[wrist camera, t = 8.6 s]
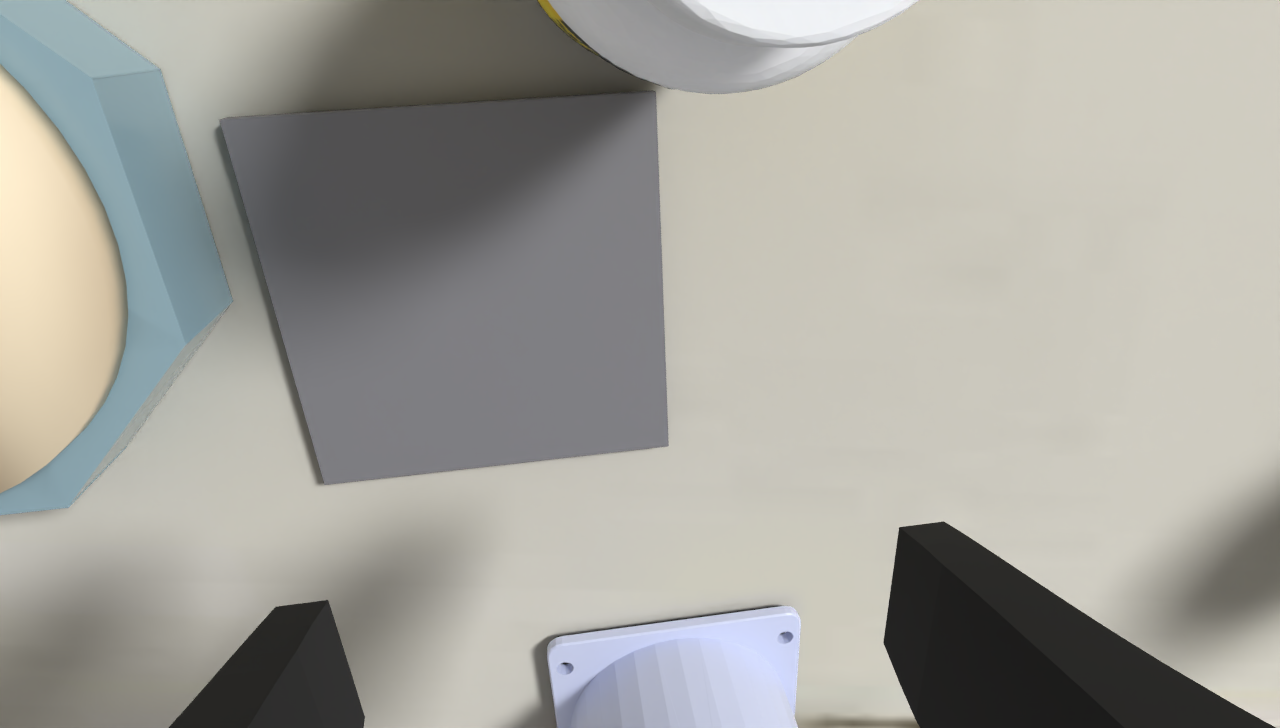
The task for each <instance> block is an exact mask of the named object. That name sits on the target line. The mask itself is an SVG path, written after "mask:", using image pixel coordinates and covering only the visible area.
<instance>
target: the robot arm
mask: <svg viewBox="0 0 1280 728" xmlns="http://www.w3.org/2000/svg"><path fill="white" fill-rule="evenodd" d="M800 628H801V621H800V617H799V615H798V613H797V611H796V610H795V609H794V608H793V607H790V606H779V607H772V608H765V609H757V610H750V611H743V612H735V613H728V614H721V615H713V616H706V617H699V618H691V619H684V620H677V621H669V622H662V623H655V624H647V625H640V626H633V627H625V628H618V629H611V630H603V631H596V632H589V633H581V634H574V635H567V636H561V637H557V638H555V639H553V640H552V641H550V643H549V644H548V646H547V661H548V668H549V674H550V681H551V688H552V695H553V702H554V709H555V716H556V723H557V728H798V725H797V723H796V720H795V702H796V687H797V673H798V658H799V643H800ZM785 631H787V632H786V633H784V634H781V633H783V632H785ZM884 645H885V648H886V650H887V653H888V655H889V657H890V660H891V662H892V665H893V667H894V670H895V672H896V675H897V677H898V680H899V682H900V685H901V687H902V689H903V692H904V694H905V696H906V698H907V701H908V703H909V705H910V708H911V710H912V712H913V714H914V717H915V719H916V721H917V723H918V725H919V726H920V728H1275V727H1273V726H1272V725H1270V724H1268V723H1266V722H1264V721H1263V720H1261V719H1259V718H1257V717H1255V716H1254V715H1252V714H1250V713H1248V712H1246V711H1245V710H1243V709H1241V708H1239V707H1237V706H1236V705H1234V704H1232V703H1230V702H1229V701H1227V700H1225V699H1223V698H1222V697H1220V696H1218V695H1217V694H1215V693H1213V692H1212V691H1210V690H1208V689H1207V688H1205V687H1203V686H1201V685H1200V684H1198V683H1196V682H1195V681H1193V680H1191V679H1190V678H1188V677H1186V676H1184V675H1183V674H1181V673H1179V672H1178V671H1176V670H1174V669H1173V668H1171V667H1169V666H1167V665H1166V664H1164V663H1162V662H1161V661H1159V660H1157V659H1156V658H1154V657H1153V656H1151V655H1149V654H1148V653H1146V652H1144V651H1143V650H1141V649H1140V648H1138V647H1136V646H1135V645H1133V644H1132V643H1130V642H1128V641H1127V640H1125V639H1123V638H1122V637H1120V636H1119V635H1117V634H1116V633H1114V632H1112V631H1111V630H1109V629H1108V628H1106V627H1105V626H1103V625H1101V624H1100V623H1098V622H1097V621H1095V620H1094V619H1092V618H1091V617H1089V616H1087V615H1086V614H1084V613H1083V612H1081V611H1080V610H1078V609H1077V608H1075V607H1074V606H1072V605H1070V604H1069V603H1067V602H1066V601H1064V600H1063V599H1061V598H1060V597H1058V596H1057V595H1055V594H1054V593H1052V592H1051V591H1049V590H1048V589H1046V588H1045V587H1043V586H1042V585H1040V584H1039V583H1037V582H1036V581H1034V580H1033V579H1031V578H1030V577H1028V576H1027V575H1025V574H1024V573H1022V572H1021V571H1019V570H1018V569H1016V568H1015V567H1013V566H1012V565H1010V564H1009V563H1007V562H1006V561H1004V560H1003V559H1001V558H1000V557H998V556H997V555H995V554H994V553H992V552H991V551H989V550H988V549H986V548H985V547H983V546H982V545H980V544H979V543H977V542H975V541H974V540H972V539H971V538H969V537H968V536H966V535H965V534H963V533H962V532H960V531H958V530H957V529H955V528H953V527H952V526H950V525H949V524H947V523H945V522H938V523H930V524H922V525H914V526H906V527H899V534H898V541H897V548H896V555H895V563H894V570H893V577H892V585H891V592H890V599H889V607H888V614H887V621H886V628H885V636H884ZM564 662H566V663H569V664H566V665H564V664H561V663H564ZM364 719H365V716H364V713H363V710H362V707H361V704H360V700H359V697H358V694H357V691H356V688H355V684H354V681H353V678H352V675H351V672H350V668H349V665H348V662H347V659H346V656H345V652H344V649H343V646H342V643H341V640H340V636H339V633H338V630H337V627H336V624H335V620H334V617H333V614H332V611H331V608H330V604H329V601H328V600H326V601H318V602H310V603H302V604H294V605H287V606H279V607H275V608H274V610H273V611H272V612H271V613H270V614H269V615H268V616H267V617H266V618H265V619H264V621H263V622H262V623H261V624H260V625H259V626H258V627H257V628H256V630H255V631H254V632H253V633H252V634H251V635H250V636H249V637H248V638H247V640H246V641H245V642H244V643H243V644H242V645H241V646H240V648H239V649H238V650H237V651H236V652H235V653H234V654H233V655H232V657H231V658H230V659H229V660H228V661H227V662H226V663H225V665H224V666H223V667H222V668H221V669H220V670H219V671H218V673H217V674H216V675H215V676H214V677H213V678H212V679H211V681H210V682H209V683H208V684H207V685H206V686H205V687H204V689H203V690H202V691H201V692H200V693H199V694H198V695H197V697H196V698H195V699H194V700H193V701H192V702H191V703H190V704H189V706H188V707H187V708H186V709H185V710H184V711H183V712H182V714H181V715H180V716H179V717H178V718H177V719H176V720H175V721H174V722H173V724H172V725H171V726H170V727H169V728H363V727H364Z"/></svg>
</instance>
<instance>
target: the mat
mask: <svg viewBox="0 0 1280 728" xmlns="http://www.w3.org/2000/svg"><path fill="white" fill-rule="evenodd" d="M219 121H220V124H221V127H222V131H223V134H224V138H225V141H226V145H227V148H228V152H229V155H230V159H231V162H232V166H233V169H234V172H235V176H236V179H237V183H238V186H239V190H240V193H241V197H242V200H243V204H244V207H245V211H246V214H247V218H248V221H249V224H250V228H251V231H252V235H253V238H254V242H255V245H256V249H257V252H258V256H259V259H260V263H261V266H262V269H263V273H264V276H265V280H266V283H267V287H268V290H269V294H270V297H271V301H272V304H273V308H274V311H275V315H276V318H277V321H278V325H279V328H280V332H281V335H282V339H283V342H284V346H285V349H286V353H287V356H288V360H289V363H290V366H291V370H292V373H293V377H294V380H295V384H296V387H297V391H298V394H299V398H300V401H301V405H302V408H303V412H304V415H305V418H306V422H307V425H308V429H309V432H310V436H311V439H312V443H313V446H314V450H315V453H316V457H317V460H318V463H319V467H320V470H321V474H322V477H323V481H324V484H325V485H327V484H336V483H345V482H354V481H363V480H372V479H381V478H390V477H398V476H407V475H416V474H425V473H434V472H443V471H452V470H461V469H470V468H479V467H488V466H496V465H505V464H514V463H523V462H532V461H541V460H550V459H559V458H568V457H577V456H586V455H594V454H603V453H612V452H621V451H630V450H639V449H648V448H657V447H666V446H669V445H668V417H667V390H666V362H665V334H664V306H663V278H662V250H661V222H660V194H659V166H658V138H657V110H656V92H655V91H637V92H622V93H606V94H590V95H574V96H558V97H543V98H527V99H511V100H495V101H479V102H464V103H448V104H432V105H416V106H400V107H385V108H369V109H353V110H337V111H322V112H306V113H290V114H274V115H258V116H243V117H227V118H224V119H220V120H219Z"/></svg>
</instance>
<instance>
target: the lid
mask: <svg viewBox="0 0 1280 728" xmlns="http://www.w3.org/2000/svg"><path fill="white" fill-rule="evenodd" d="M127 325H128V300H127V286H126V278H125V273H124V269H123V264H122V260H121V255H120V250H119V246H118V243H117V240H116V237H115V235H114V232H113V229H112V226H111V224H110V221H109V218H108V215H107V213H106V210H105V207H104V205H103V203H102V201H101V199H100V197H99V196H98V194H97V192H96V190H95V188H94V186H93V184H92V182H91V180H90V178H89V176H88V174H87V172H86V170H85V168H84V167H83V165H82V164H81V162H80V161H79V159H78V158H77V156H76V155H75V153H74V152H73V150H72V149H71V147H70V146H69V144H68V143H67V141H66V140H65V138H64V137H63V135H62V134H61V132H60V130H59V129H58V128H57V127H56V125H55V124H54V123H53V122H52V121H51V119H50V118H49V117H48V116H47V114H46V113H45V112H44V111H43V110H42V108H41V107H40V106H39V105H38V103H37V102H36V101H35V100H34V99H33V97H32V96H31V95H30V94H29V93H28V91H27V90H26V89H25V88H24V87H23V86H22V85H21V84H20V83H19V82H18V81H17V80H16V79H15V78H14V77H13V76H12V75H11V74H10V73H9V72H8V71H7V70H6V69H5V68H4V67H3V66H2V65H1V64H0V493H2V492H4V491H6V490H8V489H10V488H12V487H14V486H16V485H18V484H20V483H22V482H23V481H24V480H26V479H27V478H29V477H30V476H32V475H33V474H34V473H36V472H37V471H39V470H40V469H41V468H43V467H44V466H46V465H47V464H48V463H49V462H50V461H51V460H53V459H54V458H55V457H56V456H57V455H58V454H59V453H60V452H61V451H62V450H64V449H65V448H66V447H67V446H68V445H69V444H70V443H71V442H72V441H73V440H74V439H75V438H76V437H77V436H78V435H79V434H80V433H81V432H82V431H83V430H84V429H85V428H86V427H87V426H88V425H89V424H90V422H91V421H92V420H93V418H94V417H95V415H96V414H97V413H98V411H99V410H100V408H101V407H102V406H103V404H104V403H105V401H106V399H107V397H108V395H109V393H110V391H111V389H112V386H113V384H114V382H115V380H116V378H117V376H118V372H119V369H120V365H121V361H122V358H123V354H124V350H125V347H126V336H127Z"/></svg>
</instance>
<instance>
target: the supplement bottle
mask: <svg viewBox="0 0 1280 728" xmlns="http://www.w3.org/2000/svg"><path fill="white" fill-rule="evenodd" d="M537 1H538V3H539V4H540V6H541V7H542V8H543V10H544V11H545V12H546V13H547V15H548V16H549V17H550V18H551V20H552V21H553V22H554V23H555V24H556V25H557V26H558V27H559V28H560V29H561V30H562V31H564V32H565V33H566V34H567V35H568V36H569V37H570V38H572V39H573V40H574V41H576V42H577V43H579V44H580V45H582V46H583V47H584V48H586V49H587V50H588V51H590V52H593V53H594V54H596V55H598V56H600V57H601V58H603V59H604V60H606V61H607V62H609V63H611V64H612V65H614V66H615V67H617V68H618V69H620V70H622V71H624V72H626V73H629V74H631V75H634V76H636V77H638V78H641V79H643V80H646V81H650V82H652V83H655V84H657V85H659V86H663V87H666V88H668V89H678V90H682V91H686V92H696V93H705V94H728V93H739V92H746V91H752V90H757V89H762V88H766V87H769V86H773V85H776V84H779V83H782V82H784V81H787V80H790V79H792V78H795V77H797V76H799V75H801V74H803V73H805V72H807V71H809V70H811V69H812V68H814V67H816V66H818V65H819V64H821V63H823V62H825V61H826V60H827V59H829V58H830V57H832V56H833V55H834V54H836V53H837V52H838V51H840V50H841V49H842V48H844V47H845V46H847V45H848V44H849V43H850V42H851V41H852V40H853V39H854V38H856V37H857V36H858V35H860V34H862V33H865V32H867V31H870V30H872V29H874V28H876V27H878V26H880V25H882V24H884V23H886V22H888V21H889V20H891V19H893V18H894V17H896V16H898V15H900V14H901V13H903V12H904V11H906V10H907V9H908V8H910V7H911V6H912V5H914V4H915V3H916V2H917V1H919V0H537Z"/></svg>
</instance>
